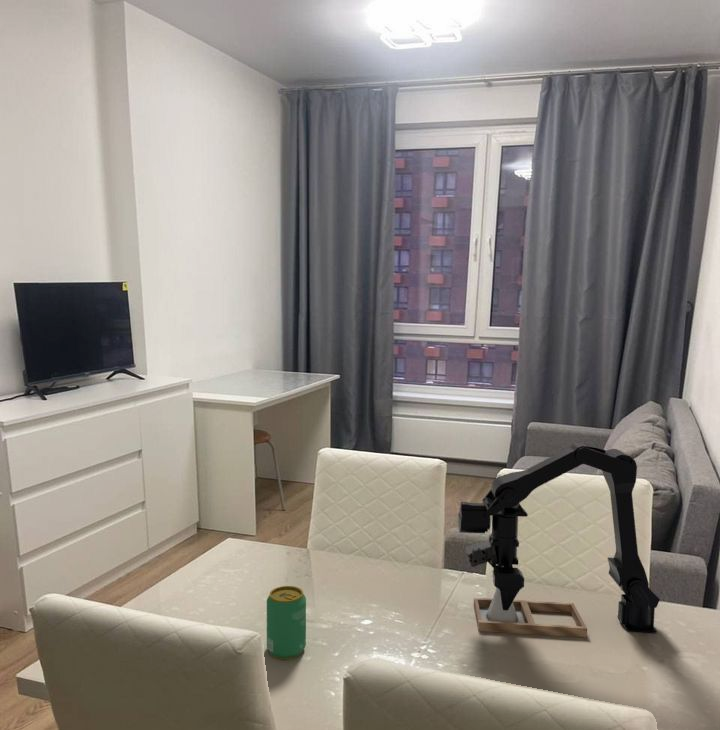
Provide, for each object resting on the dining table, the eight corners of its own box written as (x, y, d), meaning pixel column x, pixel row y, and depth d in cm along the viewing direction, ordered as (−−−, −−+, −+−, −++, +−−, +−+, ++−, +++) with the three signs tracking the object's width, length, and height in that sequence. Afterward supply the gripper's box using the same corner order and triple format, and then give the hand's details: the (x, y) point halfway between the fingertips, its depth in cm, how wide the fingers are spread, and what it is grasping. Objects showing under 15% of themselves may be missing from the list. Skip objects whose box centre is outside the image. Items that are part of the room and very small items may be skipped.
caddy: (573, 611, 140) (573, 603, 140) (586, 637, 129) (587, 628, 129) (473, 605, 143) (473, 597, 143) (478, 630, 131) (478, 622, 131)
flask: (519, 628, 132) (520, 584, 131) (485, 624, 134) (486, 581, 133) (517, 612, 139) (519, 571, 138) (486, 609, 141) (487, 567, 140)
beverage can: (282, 635, 128) (283, 581, 127) (313, 646, 124) (313, 590, 123) (258, 653, 121) (258, 596, 121) (290, 665, 117) (290, 606, 116)
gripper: (465, 518, 145) (463, 580, 146) (471, 547, 126) (470, 618, 128) (512, 520, 144) (510, 583, 145) (525, 550, 125) (523, 621, 126)
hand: (502, 600), depth 136 cm, fingers open, 9 cm apart
